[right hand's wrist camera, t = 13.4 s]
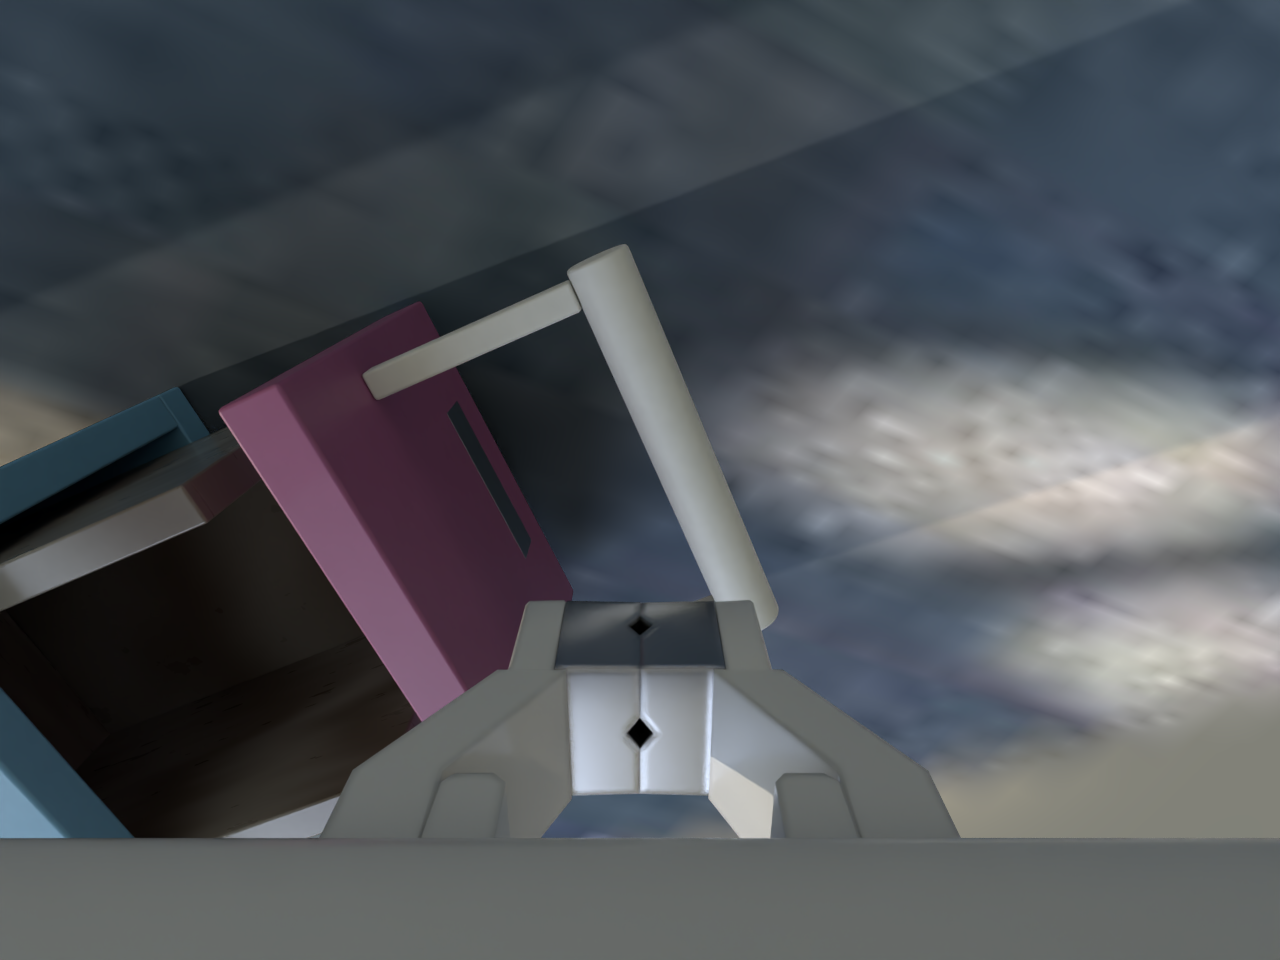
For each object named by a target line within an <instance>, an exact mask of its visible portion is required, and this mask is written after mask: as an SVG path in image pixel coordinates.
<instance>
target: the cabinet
mask: <svg viewBox="0 0 1280 960" xmlns="http://www.w3.org/2000/svg"><path fill="white" fill-rule="evenodd" d="M207 435H210V433H209V432H208V430H207V429H206V427H205V426H204V424H203V423H202V421H201V420H200V418H199V417H198V415H197V414H196V412H195V411H194V409H193V408H192V406H191V405H190V403H189V402H188V400H187V399H186V397H185V396H184V394H183V393H182V392H181V390H180V389H179V388H178V387H174V388H172V389H170V390H168V391H166V392H163V393H161V394H159V395H157V396H155V397H152V398H150V399H148V400H146V401H144V402H141V403H139V404H137V405H135V406H133V407H130V408H128V409H126V410H124V411H122V412H120V413H117V414H115V415H113V416H111V417H109V418H106V419H104V420H102V421H100V422H98V423H95V424H93V425H91V426H89V427H87V428H84V429H82V430H80V431H78V432H76V433H73V434H71V435H69V436H67V437H65V438H62V439H60V440H58V441H56V442H54V443H52V444H49V445H47V446H45V447H43V448H41V449H38V450H36V451H34V452H32V453H30V454H27V455H25V456H23V457H21V458H19V459H16V460H14V461H12V462H10V463H8V464H5V465H3V466H1V467H0V528H2V527H4V526H6V525H8V524H11V523H13V522H15V521H17V520H19V519H22V518H24V517H26V516H28V515H31V514H33V513H35V512H37V511H40V510H42V509H44V508H46V507H49V506H51V505H53V504H55V503H58V502H60V501H62V500H64V499H66V498H69V497H71V496H73V495H75V494H78V493H80V492H82V491H84V490H87V489H89V488H91V487H93V486H96V485H98V484H100V483H102V482H104V481H107V480H109V479H111V478H113V477H116V476H118V475H120V474H122V473H125V472H127V471H129V470H131V469H134V468H136V467H138V466H140V465H143V464H145V463H147V462H149V461H151V460H154V459H156V458H158V457H160V456H163V455H165V454H167V453H169V452H172V451H174V450H176V449H178V448H181V447H183V446H185V445H187V444H190V443H192V442H194V441H196V440H198V439H201V438H203V437H205V436H207ZM0 838H135V837H134V836H133V835H132V834H131V833H130V832H129V831H128V830H127V828H126V827H125V826H124V825H123V824H122V823H121V822H120V821H119V819H118V818H117V817H116V816H115V815H114V814H113V813H112V812H111V810H110V809H109V808H108V807H107V806H106V805H105V804H104V803H103V801H102V800H101V799H100V798H99V797H98V796H97V795H96V794H95V793H94V791H93V790H92V789H91V788H90V787H89V786H88V785H87V784H86V782H85V781H84V780H83V779H82V778H81V777H80V776H79V775H78V773H77V772H76V771H75V770H74V769H73V768H72V767H71V766H70V764H69V763H68V762H67V761H66V760H65V759H64V758H63V757H62V756H61V754H60V753H59V752H58V751H57V750H56V749H55V748H54V747H53V745H52V744H51V743H50V742H49V741H48V740H47V739H46V738H45V736H44V735H43V734H42V733H41V732H40V731H39V730H38V729H37V727H36V726H35V725H34V724H33V723H32V722H31V721H30V720H29V718H28V717H27V716H26V715H25V714H24V713H23V712H22V711H21V710H20V708H19V707H18V706H17V705H16V704H15V703H14V702H13V701H12V699H11V698H10V697H9V696H8V695H7V694H6V693H5V692H4V690H3V689H2V688H1V687H0Z"/></svg>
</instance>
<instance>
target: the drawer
mask: <svg viewBox="0 0 1280 960" xmlns="http://www.w3.org/2000/svg"><path fill="white" fill-rule="evenodd" d="M567 275H568V277H569V279H570V280H567V281H565V282H562V283H560V284H558V285H556V286H553V287H551V288H549V289H547V290H544V291H542V292H540V293H538V294H535V295H533V296H531V297H529V298H526V299H524V300H522V301H520V302H517V303H515V304H513V305H511V306H508V307H506V308H504V309H502V310H499V311H497V312H495V313H493V314H490V315H488V316H486V317H484V318H482V319H479V320H477V321H475V322H473V323H470V324H468V325H466V326H464V327H461V328H459V329H457V330H455V331H452V332H450V333H448V334H446V335H443V336H441V337H440V336H439V334H438V332H437V330H436V329H435V327H434V325H433V323H432V321H431V319H430V317H429V315H428V313H427V311H426V310H425V308H424V306H423V304H422V303H421V302H416V303H414V304H412V305H409V306H407V307H405V308H403V309H401V310H398V311H396V312H394V313H392V314H390V315H387V316H385V317H383V318H381V319H380V320H378V321H376V322H374V323H372V324H371V325H369V326H367V327H365V328H363V329H362V330H360V331H358V332H356V333H354V334H353V335H351V336H349V337H347V338H345V339H344V340H342V341H340V342H338V343H336V344H335V345H333V346H331V347H329V348H327V349H326V350H324V351H322V352H320V353H318V354H316V355H315V356H313V357H311V358H309V359H307V360H306V361H304V362H302V363H300V364H298V365H297V366H295V367H293V368H291V369H289V370H288V371H286V372H284V373H282V374H280V375H279V376H277V377H275V378H273V379H271V380H270V381H268V382H266V383H264V384H262V385H261V386H259V387H257V388H255V389H253V390H252V391H250V392H248V393H246V394H244V395H243V396H241V397H239V398H237V399H235V400H234V401H232V402H230V403H228V404H226V405H225V406H223V407H221V408H220V410H219V414H220V416H221V417H222V419H223V420H224V422H225V424H226V425H227V427H225V428H223V429H221V430H219V431H216V432H214V433H212V434H210V435H207V436H205V437H203V438H201V439H198V440H196V441H194V442H192V443H190V444H187V445H185V446H183V447H181V448H178V449H176V450H174V451H172V452H169V453H167V454H165V455H163V456H160V457H158V458H156V459H154V460H151V461H149V462H147V463H145V464H143V465H140V466H138V467H136V468H134V469H131V470H129V471H127V472H125V473H122V474H120V475H118V476H116V477H113V478H111V479H109V480H107V481H104V482H102V483H100V484H98V485H96V486H93V487H91V488H89V489H87V490H84V491H82V492H80V493H78V494H75V495H73V496H71V497H69V498H66V499H64V500H62V501H60V502H58V503H55V504H53V505H51V506H49V507H46V508H44V509H42V510H40V511H37V512H35V513H33V514H31V515H28V516H26V517H24V518H22V519H19V520H17V521H15V522H13V523H11V524H8V525H6V526H4V527H2V528H0V687H1V688H2V689H3V690H4V692H5V693H6V694H7V695H8V696H9V697H10V698H11V699H12V701H13V702H14V703H15V704H16V705H17V706H18V707H19V708H20V710H21V711H22V712H23V713H24V714H25V715H26V716H27V717H28V718H29V720H30V721H31V722H32V723H33V724H34V725H35V726H36V727H37V729H38V730H39V731H40V732H41V733H42V734H43V735H44V736H45V738H46V739H47V740H48V741H49V742H50V743H51V744H52V745H53V747H54V748H55V749H56V750H57V751H58V752H59V753H60V754H61V756H62V757H63V758H64V759H65V760H66V761H67V762H68V763H69V764H70V766H71V767H72V768H73V769H74V770H75V771H76V772H77V773H78V775H79V776H80V777H81V778H82V779H83V780H84V781H85V782H86V784H87V785H88V786H89V787H90V788H91V789H92V790H93V791H94V793H95V794H96V795H97V796H98V797H99V798H100V799H101V800H102V801H103V803H104V804H105V805H106V806H107V807H108V808H109V809H110V810H111V812H112V813H113V814H114V815H115V816H116V817H117V818H118V819H119V821H120V822H121V823H122V824H123V825H124V826H125V827H126V828H127V830H128V831H129V832H130V833H131V834H132V835H133V836H134V837H135V838H309V837H312V836H315V835H318V834H321V833H322V831H323V829H324V827H325V825H326V823H327V821H328V819H329V817H330V815H331V813H332V811H333V809H334V807H335V805H336V803H337V801H338V799H339V797H340V795H341V793H342V791H343V789H344V787H345V785H346V782H347V780H348V778H349V776H350V774H351V772H352V770H353V769H355V768H356V767H358V766H359V765H360V764H362V763H363V762H365V761H366V760H368V759H369V758H371V757H372V756H373V755H375V754H376V753H378V752H379V751H381V750H382V749H384V748H385V747H386V746H388V745H389V744H391V743H392V742H394V741H395V740H397V739H398V738H399V737H401V736H402V735H404V734H405V733H407V732H408V731H410V730H411V729H412V728H414V727H415V726H417V725H418V724H420V723H421V722H423V721H424V720H425V719H427V718H428V717H430V716H431V715H433V714H434V713H436V712H437V711H438V710H440V709H441V708H443V707H444V706H446V705H447V704H449V703H450V702H451V701H453V700H454V699H456V698H457V697H459V696H460V695H462V694H463V693H464V692H466V691H467V690H469V689H470V688H472V687H473V686H475V685H476V684H477V683H479V682H480V681H482V680H483V679H485V678H486V677H488V676H489V675H490V674H492V673H493V672H495V671H496V670H508V668H509V664H510V660H511V657H512V653H513V649H514V646H515V642H516V638H517V635H518V631H519V627H520V624H521V620H522V616H523V612H524V609H525V605H526V604H527V603H528V602H529V601H545V600H564V601H565V602H567V601H572V595H573V589H572V587H571V585H570V583H569V581H568V579H567V578H566V576H565V574H564V572H563V570H562V568H561V566H560V564H559V562H558V560H557V559H556V557H555V555H554V553H553V551H552V549H551V547H550V545H549V543H548V541H547V540H546V538H545V536H544V534H543V532H542V530H541V528H540V526H539V524H538V522H537V521H536V519H535V517H534V515H533V513H532V511H531V509H530V507H529V505H528V503H527V501H526V500H525V498H524V496H523V494H522V492H521V490H520V488H519V486H518V484H517V482H516V481H515V479H514V477H513V475H512V473H511V471H510V469H509V467H508V465H507V463H506V462H505V460H504V458H503V456H502V454H501V452H500V450H499V448H498V446H497V444H496V443H495V441H494V439H493V437H492V435H491V433H490V431H489V429H488V427H487V425H486V424H485V422H484V420H483V418H482V416H481V414H480V412H479V410H478V408H477V406H476V405H475V403H474V401H473V399H472V397H471V395H470V393H469V391H468V389H467V387H466V386H465V384H464V382H463V380H462V378H461V376H460V374H459V372H458V370H457V368H456V367H455V366H458V365H460V364H462V363H465V362H467V361H469V360H471V359H474V358H476V357H478V356H481V355H483V354H485V353H487V352H490V351H492V350H494V349H497V348H499V347H501V346H503V345H506V344H508V343H510V342H513V341H515V340H517V339H519V338H522V337H524V336H526V335H529V334H531V333H533V332H535V331H538V330H540V329H542V328H545V327H547V326H549V325H551V324H554V323H556V322H558V321H561V320H563V319H565V318H567V317H570V316H572V315H574V314H576V313H579V312H580V311H581V309H582V308H583V311H584V313H585V315H586V317H587V319H588V322H589V324H590V326H591V328H592V331H593V333H594V335H595V337H596V339H597V342H598V344H599V346H600V348H601V351H602V353H603V355H604V357H605V359H606V362H607V364H608V366H609V368H610V371H611V373H612V375H613V377H614V379H615V382H616V384H617V386H618V388H619V390H620V393H621V395H622V397H623V399H624V402H625V404H626V406H627V408H628V410H629V413H630V415H631V417H632V419H633V422H634V424H635V426H636V428H637V430H638V433H639V435H640V437H641V439H642V442H643V444H644V446H645V448H646V450H647V453H648V455H649V457H650V459H651V462H652V464H653V466H654V468H655V470H656V473H657V475H658V477H659V479H660V482H661V484H662V486H663V488H664V490H665V493H666V495H667V497H668V499H669V501H670V504H671V506H672V508H673V510H674V513H675V515H676V517H677V519H678V521H679V524H680V526H681V528H682V530H683V533H684V535H685V537H686V539H687V541H688V544H689V546H690V548H691V550H692V553H693V555H694V557H695V559H696V561H697V564H698V566H699V568H700V570H701V573H702V575H703V577H704V579H705V581H706V584H707V586H708V588H709V590H710V592H711V595H710V596H707V597H705V598H702V599H699V600H696V601H736V600H751V601H752V602H753V603H754V606H755V610H756V613H757V617H758V621H759V624H760V628H761V630H763V629H765V628H766V627H768V626H769V625H770V624H772V623H773V622H774V620H775V619H776V617H777V615H778V605H777V602H776V600H775V598H774V595H773V593H772V590H771V588H770V586H769V583H768V581H767V578H766V576H765V574H764V571H763V569H762V566H761V564H760V562H759V559H758V557H757V554H756V552H755V549H754V547H753V545H752V542H751V540H750V537H749V535H748V533H747V530H746V528H745V525H744V523H743V521H742V518H741V516H740V513H739V511H738V509H737V506H736V504H735V501H734V499H733V497H732V494H731V492H730V489H729V487H728V485H727V482H726V480H725V477H724V475H723V473H722V470H721V468H720V465H719V463H718V461H717V458H716V456H715V453H714V451H713V449H712V446H711V444H710V441H709V439H708V437H707V434H706V432H705V429H704V427H703V425H702V422H701V420H700V417H699V415H698V413H697V410H696V408H695V405H694V403H693V400H692V398H691V396H690V393H689V391H688V388H687V386H686V384H685V381H684V379H683V376H682V374H681V372H680V369H679V367H678V364H677V362H676V360H675V357H674V355H673V352H672V350H671V348H670V345H669V343H668V340H667V338H666V336H665V333H664V331H663V328H662V326H661V324H660V321H659V319H658V316H657V314H656V312H655V309H654V307H653V304H652V302H651V300H650V297H649V295H648V292H647V290H646V288H645V285H644V283H643V280H642V278H641V276H640V273H639V271H638V268H637V266H636V264H635V261H634V259H633V256H632V254H631V251H630V249H629V247H628V246H627V245H626V244H621V245H618V246H615V247H612V248H610V249H607V250H605V251H603V252H600V253H598V254H596V255H594V256H592V257H590V258H587V259H585V260H583V261H581V262H579V263H577V264H576V265H574V266H572V267H571V268H570V269H569V270H568V271H567ZM696 601H694V602H696Z"/></svg>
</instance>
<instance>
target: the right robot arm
mask: <svg viewBox="0 0 1280 960" xmlns="http://www.w3.org/2000/svg"><path fill="white" fill-rule="evenodd" d="M639 793H640V794H675V795H709V800H710V801H711V802H712V803H713V805H714V806H715V807H716V808H717V810H718V811H719V812H720V813H721V815H722V816H723V817H724V818H725V820H726V821H727V822H728V823H729V825H730V826H731V827H732V828H733V830H734V831H735V832H736V834H737V835H738V836H739V837H740V838H541V837H542V835H543V834H544V833H545V832H546V830H547V829H548V828H549V827H550V825H551V824H552V823H553V822H554V820H555V819H556V818H557V817H558V815H559V814H560V813H561V812H562V810H563V809H564V808H565V807H566V805H567V804H568V803H569V802H570V800H571V795H604V794H639ZM0 960H1280V838H961V837H960V835H959V833H958V831H957V829H956V827H955V825H954V823H953V821H952V819H951V817H950V815H949V813H948V811H947V809H946V807H945V804H944V802H943V800H942V798H941V796H940V794H939V792H938V790H937V788H936V786H935V784H934V782H933V780H932V778H931V776H930V773H929V771H928V770H926V769H925V768H923V767H922V766H920V765H919V764H917V763H916V762H915V761H913V760H912V759H910V758H909V757H907V756H906V755H905V754H903V753H902V752H900V751H899V750H897V749H896V748H894V747H893V746H892V745H890V744H889V743H887V742H886V741H884V740H883V739H882V738H880V737H879V736H877V735H876V734H874V733H873V732H872V731H870V730H869V729H867V728H866V727H864V726H863V725H861V724H860V723H859V722H857V721H856V720H854V719H853V718H851V717H850V716H849V715H847V714H846V713H844V712H843V711H841V710H840V709H838V708H837V707H836V706H834V705H833V704H831V703H830V702H828V701H827V700H826V699H824V698H823V697H821V696H820V695H818V694H817V693H815V692H814V691H813V690H811V689H810V688H808V687H807V686H805V685H804V684H803V683H801V682H800V681H798V680H797V679H795V678H794V677H793V676H791V675H790V674H788V673H787V672H785V671H784V670H772V668H771V664H770V661H769V657H768V653H767V650H766V646H765V642H764V639H763V635H762V631H761V628H760V624H759V621H758V617H757V613H756V610H755V606H754V603H753V602H752V601H751V600H736V601H696V602H655V603H640V602H604V601H567V602H565V601H564V600H545V601H529V602H528V603H527V604H526V605H525V609H524V612H523V616H522V620H521V624H520V627H519V631H518V635H517V638H516V642H515V646H514V649H513V653H512V657H511V660H510V664H509V668H508V670H496V671H495V672H493V673H492V674H490V675H489V676H488V677H486V678H485V679H483V680H482V681H480V682H479V683H477V684H476V685H475V686H473V687H472V688H470V689H469V690H467V691H466V692H464V693H463V694H462V695H460V696H459V697H457V698H456V699H454V700H453V701H451V702H450V703H449V704H447V705H446V706H444V707H443V708H441V709H440V710H438V711H437V712H436V713H434V714H433V715H431V716H430V717H428V718H427V719H425V720H424V721H423V722H421V723H420V724H418V725H417V726H415V727H414V728H412V729H411V730H410V731H408V732H407V733H405V734H404V735H402V736H401V737H399V738H398V739H397V740H395V741H394V742H392V743H391V744H389V745H388V746H386V747H385V748H384V749H382V750H381V751H379V752H378V753H376V754H375V755H373V756H372V757H371V758H369V759H368V760H366V761H365V762H363V763H362V764H360V765H359V766H358V767H356V768H355V769H353V770H352V772H351V774H350V776H349V778H348V780H347V782H346V785H345V787H344V789H343V791H342V793H341V795H340V797H339V799H338V801H337V803H336V805H335V807H334V809H333V811H332V813H331V815H330V817H329V819H328V821H327V823H326V825H325V827H324V829H323V831H322V833H321V835H320V837H319V838H0Z"/></svg>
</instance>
